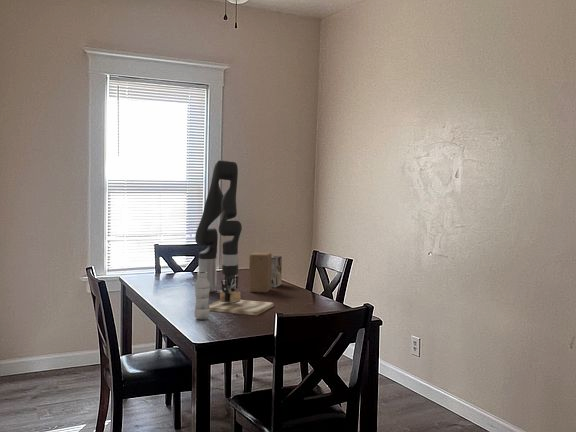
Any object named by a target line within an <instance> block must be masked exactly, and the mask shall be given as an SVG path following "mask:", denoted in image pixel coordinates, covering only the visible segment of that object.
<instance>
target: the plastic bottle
mask: <svg viewBox="0 0 576 432" xmlns="http://www.w3.org/2000/svg"><path fill="white" fill-rule="evenodd" d="M197 273H198V277H199V278H198V280H197V279H196V281H195V283H194V291H195V308H194V313H193V314H194V317H195V319H197V320H202V321H203V320H207V319H210V317H211V315H210V314H211V311H210V309H209V304H210V300H209V299H210V293H211V292H210V282H209V281H208V280H207V278H206V277H207V272H199V271H198V272H197Z"/></svg>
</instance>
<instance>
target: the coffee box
mask: <svg viewBox="0 0 576 432" xmlns="http://www.w3.org/2000/svg"><path fill="white" fill-rule="evenodd" d="M282 261H283V260H282V256H280V255H272V259H271V288H277V287H280V286H281V285H282Z"/></svg>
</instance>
